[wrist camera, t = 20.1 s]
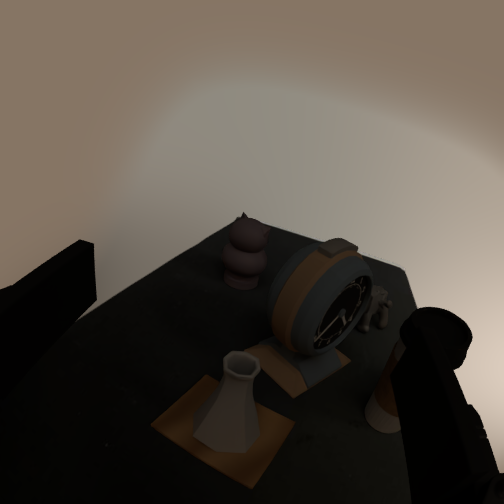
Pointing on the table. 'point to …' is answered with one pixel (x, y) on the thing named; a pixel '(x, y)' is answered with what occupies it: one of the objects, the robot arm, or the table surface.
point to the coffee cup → (448, 331)
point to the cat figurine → (245, 253)
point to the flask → (230, 407)
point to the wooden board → (230, 464)
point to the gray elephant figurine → (376, 309)
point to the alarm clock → (313, 313)
